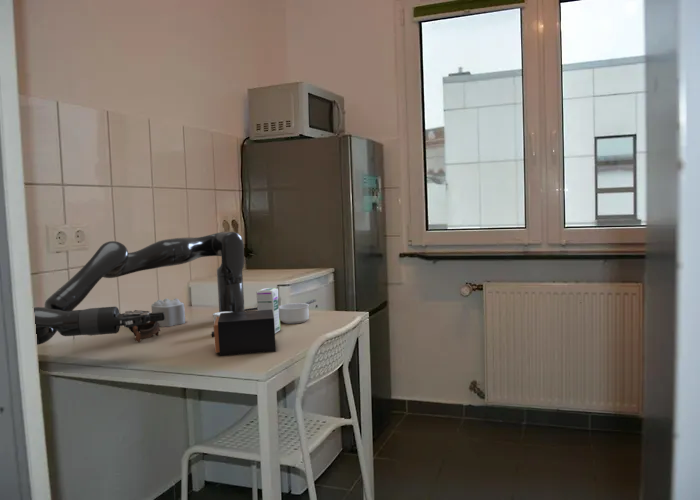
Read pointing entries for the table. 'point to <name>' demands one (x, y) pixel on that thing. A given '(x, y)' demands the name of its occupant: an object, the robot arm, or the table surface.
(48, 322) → the robot arm
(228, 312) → the white tapered cup
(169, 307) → the lumpy-topped squat cylinder
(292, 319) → the saucepan
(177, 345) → the table surface
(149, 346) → the table surface
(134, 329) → the brown hollow curved piece
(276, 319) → the syrup box
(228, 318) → the small drawer unit
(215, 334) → the orange pull-out drawer
